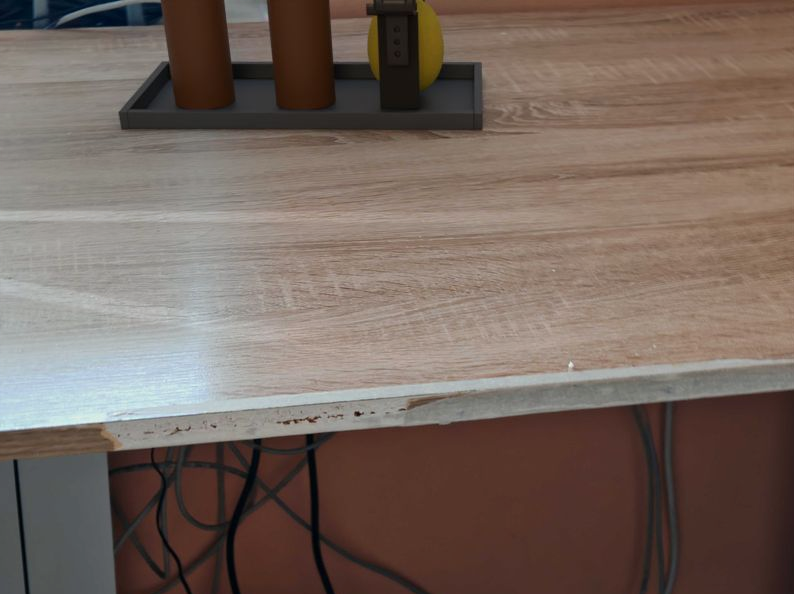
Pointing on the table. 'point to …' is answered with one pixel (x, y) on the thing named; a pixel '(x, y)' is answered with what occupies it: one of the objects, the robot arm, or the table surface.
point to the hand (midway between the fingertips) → (404, 85)
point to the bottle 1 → (199, 53)
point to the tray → (352, 110)
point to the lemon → (428, 45)
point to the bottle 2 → (302, 53)
